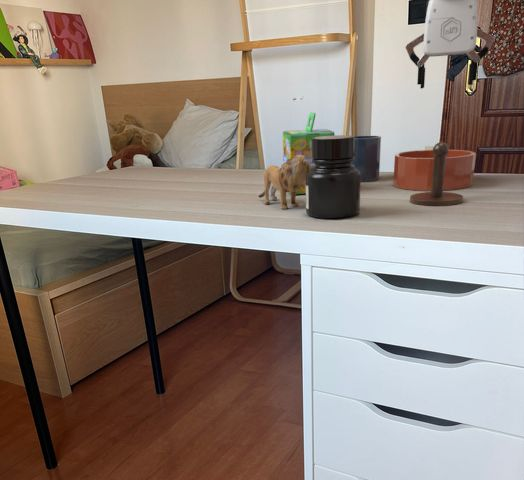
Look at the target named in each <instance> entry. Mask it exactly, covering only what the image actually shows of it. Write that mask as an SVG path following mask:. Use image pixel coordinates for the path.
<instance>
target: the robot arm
mask: <svg viewBox="0 0 524 480" xmlns="http://www.w3.org/2000/svg"><path fill="white" fill-rule="evenodd" d="M478 2H479V1H478V0H429V1H428V4H427V8H426V14H425V15H426V16H425V22H424V31H423V33H422V34H421V35H419V36H418V37H415V38H414V39H413V40H412V41H410V42H408V43H407V44H406V45H405V50H406V53H407V55H408V57H409V60H411V62H412V63H413V64H414V65H415V66H416V67H417V82H416V83H417V86H418V85H420V89H424V88H425V82H426V81H425V79H426V67H425V63H426V62H427V61H428V60H429V58H430V57H433V58H434V57H444V56H445V57H446V56H456V55H464V54H466V55H467V57H468V59H470V63H469V65H468V74H467V85H468V86H472V85H473V82H474V81H477V74H478V66H479V63H480V61H481V60H482V59H483V58H484V57H485V56H486V55H487V54H488V52H489V51H490V49H491V47H492V46H493V44H494V42H495V39H496V38H495V36H494V35H492V34H491V33H488V32H486V31H483V30H482V29H480V28H478V20H479V19H478V18H479V5H478V4H479V3H478ZM477 39H480V40H482V41H484V45H483V46H482V48H481V50H479V52H478V53H477V51H476V50H475V48H476V46H477ZM420 44H423V45H422V46H423V50H422V51H423V55H422V56H421V57H418V55H417V54H416V52H415V50H414V49H415V48H416V47H417V46H420Z"/></svg>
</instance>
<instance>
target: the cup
mask: <svg viewBox="0 0 524 480" xmlns="http://www.w3.org/2000/svg"><path fill="white" fill-rule="evenodd" d="M354 136H355V156H354V158H355V159H354V161H353V162H351V164H352V165H354V166H355V168H356V169H358V170H359V171H360V174H361V183H370V182H376V181H379V180H380V170H381V166H380V165H381V151H382V150H381V149H382V136H381V135H354Z"/></svg>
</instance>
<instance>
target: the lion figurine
mask: <svg viewBox="0 0 524 480" xmlns="http://www.w3.org/2000/svg"><path fill="white" fill-rule="evenodd" d="M311 168H312V166H310V165H309V164H308V163H307V162H306V159H305V156H302V155H296V156H294V157H292V158H290V159H288V160H287V161H286V162H285V163H283V162H282V164H281V167H279V166H277V165H275V164H274V165H273V164H271V165H270V166H267V168H266V169H265V170H264V175H263V182H264V183H263V184H264V190H263V192H262V193H260V194H259V195H258V198H259V199H260V198H263V197H264V202H263V204H264V205H270V204H271V200H272V201H277V199H278V198H277V197H278V196H276V192H277V190H278V191H279V197H280V209H281V210H288V209H289V206H288V203H287V193H289V192H291V194H290V201H289V202H290V203H289V204H290V206H291V207H293V208H295V207H299V203H298V202H296V196H297V194H296V192H297V191H298V190H300V187H301V186H302V185H303V184H304V183H305V182H306V174H307V173H308V171H310V170H311ZM271 184H272V185H271ZM270 188H271V189H270ZM270 199H271V200H270Z"/></svg>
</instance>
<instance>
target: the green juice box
mask: <svg viewBox="0 0 524 480" xmlns="http://www.w3.org/2000/svg"><path fill="white" fill-rule="evenodd" d="M315 119H316V112H309V114H308V118H307V122H306V126H305V129H302V130H301V129H300V130H299V129H298V130H297V129H295V130H284V131H282V155H283V156H282V157H283V162H282V164H283V163H285V162H286V161H287V160H288V159H290V158H292V157H294V156H296V155H302V156H305V159H306V162H307V163H308V164H309V165H310V166H312V167H313V166H315V163H313V162H312V159H313V158H312V138H314V137H321V136H335V131H333V130H331V129H327V128H326V129H325V128H319V129H314V124H315ZM288 193H289V194H290V195H291V192H288ZM296 195H306V182H305V183H304V184H303V185H302V186H301V187H300V190H298V191H297V192H296Z"/></svg>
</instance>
